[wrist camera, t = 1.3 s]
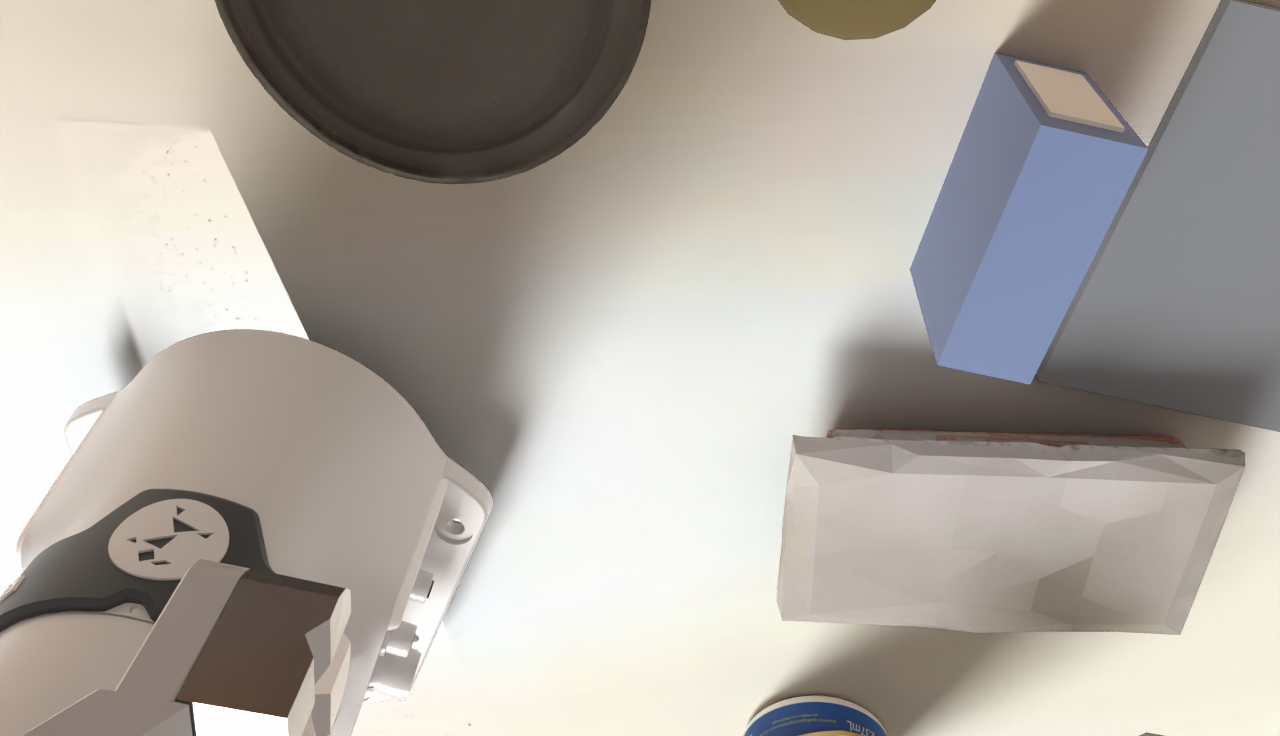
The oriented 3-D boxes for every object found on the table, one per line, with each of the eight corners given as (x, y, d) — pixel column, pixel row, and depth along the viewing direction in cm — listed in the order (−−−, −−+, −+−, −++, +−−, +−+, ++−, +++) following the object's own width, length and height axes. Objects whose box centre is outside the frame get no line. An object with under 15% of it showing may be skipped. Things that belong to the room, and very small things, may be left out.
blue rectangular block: (990, 285, 43) (1030, 384, 37) (909, 268, 43) (936, 365, 37) (1087, 68, 38) (1151, 144, 32) (996, 48, 38) (1043, 120, 32)
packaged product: (1149, 566, 51) (1208, 396, 46) (1186, 644, 47) (1256, 467, 42) (770, 552, 52) (785, 384, 47) (775, 627, 48) (791, 452, 43)
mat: (1281, 424, 46) (1287, 433, 45) (1034, 373, 45) (1038, 381, 45) (1527, 65, 37) (1538, 71, 36) (1224, -5, 36) (1230, 0, 36)
